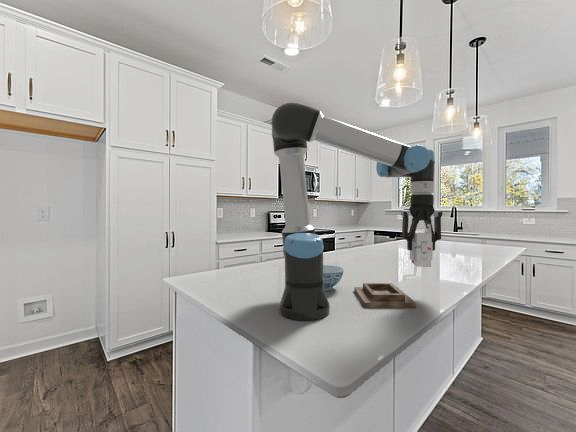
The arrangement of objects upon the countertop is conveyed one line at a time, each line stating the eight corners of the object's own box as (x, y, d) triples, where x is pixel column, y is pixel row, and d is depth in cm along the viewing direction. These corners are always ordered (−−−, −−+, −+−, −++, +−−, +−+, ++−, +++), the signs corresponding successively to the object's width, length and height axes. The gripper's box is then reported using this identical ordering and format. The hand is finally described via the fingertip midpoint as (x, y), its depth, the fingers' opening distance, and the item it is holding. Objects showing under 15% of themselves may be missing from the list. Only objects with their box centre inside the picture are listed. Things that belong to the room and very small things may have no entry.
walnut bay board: (364, 307, 91) (364, 296, 91) (354, 291, 109) (354, 281, 109) (416, 307, 90) (416, 296, 90) (397, 291, 108) (397, 281, 108)
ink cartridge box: (410, 262, 107) (411, 222, 107) (424, 262, 106) (425, 223, 106) (416, 266, 99) (416, 223, 99) (431, 267, 98) (432, 224, 98)
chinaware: (346, 293, 106) (346, 272, 106) (306, 294, 106) (305, 273, 106) (340, 283, 121) (340, 264, 121) (304, 283, 121) (304, 265, 121)
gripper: (398, 193, 99) (398, 261, 99) (454, 193, 98) (452, 261, 99) (392, 194, 106) (391, 257, 107) (443, 194, 105) (442, 258, 106)
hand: (420, 259), depth 103 cm, fingers closed on ink cartridge box, 5 cm apart
